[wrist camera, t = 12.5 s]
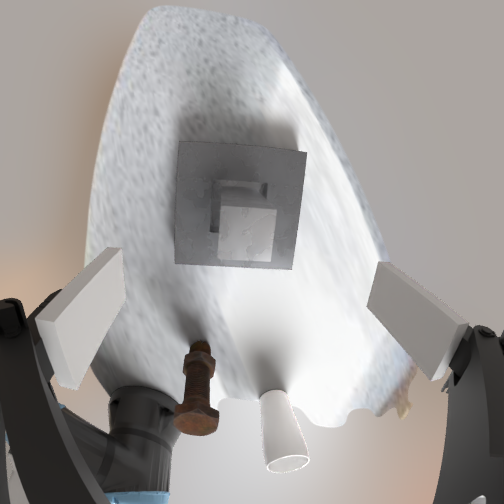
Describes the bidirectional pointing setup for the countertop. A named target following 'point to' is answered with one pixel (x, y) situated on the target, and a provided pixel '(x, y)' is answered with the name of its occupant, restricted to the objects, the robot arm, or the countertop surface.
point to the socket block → (237, 175)
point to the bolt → (197, 393)
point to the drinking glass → (281, 434)
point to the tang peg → (245, 225)
